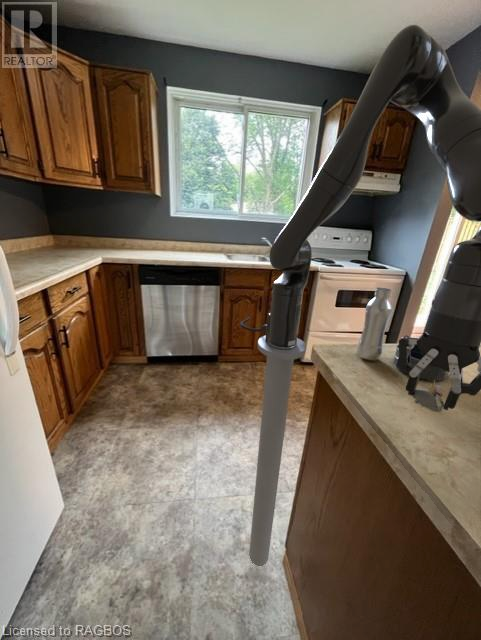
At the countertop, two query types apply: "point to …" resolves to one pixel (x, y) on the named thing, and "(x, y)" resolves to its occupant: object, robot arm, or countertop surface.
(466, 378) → the countertop surface
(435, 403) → the figurine
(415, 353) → the pan
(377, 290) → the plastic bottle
